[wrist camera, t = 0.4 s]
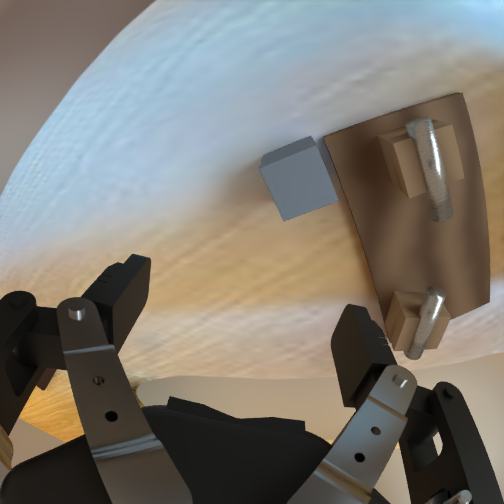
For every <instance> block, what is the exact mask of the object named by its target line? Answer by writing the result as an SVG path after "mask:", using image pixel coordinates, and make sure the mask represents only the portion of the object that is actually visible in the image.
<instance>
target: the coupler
mask: <svg viewBox="0 0 504 504" xmlns="http://www.w3.org/2000/svg"><path fill="white" fill-rule="evenodd" d="M259 170H260V172H261V174H262V176H263V179H264V181H265V183H266V185H267V187H268V189H269V191H270V193H271V195H272V198H273V200H274V202H275V204H276V206H277V208H278V211H279V213H280V215H281V217H282V219H283V221H286V220H289V219H292V218H294V217H297V216H299V215H302V214H305V213H307V212H310V211H313V210H315V209H318V208H321V207H323V206H326V205H329V204H331V203H334V202H336V201H339V200H338V197H337V195H336V192H335V189H334V187H333V184H332V182H331V179H330V177H329V174H328V172H327V169H326V167H325V164H324V162H323V159H322V157H321V154H320V152H319V150H318V147H317V145H316V143H315V142H314V140H313V138H312V137H311V136H309V137H307V138H304V139H301V140H299V141H296V142H294V143H292V144H289V145H287V146H284V147H282V148H279V149H277V150H274V151H272V152H270V153H267V154H265V155H264V156H263V158H262V161H261V164H260V167H259Z"/></svg>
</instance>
